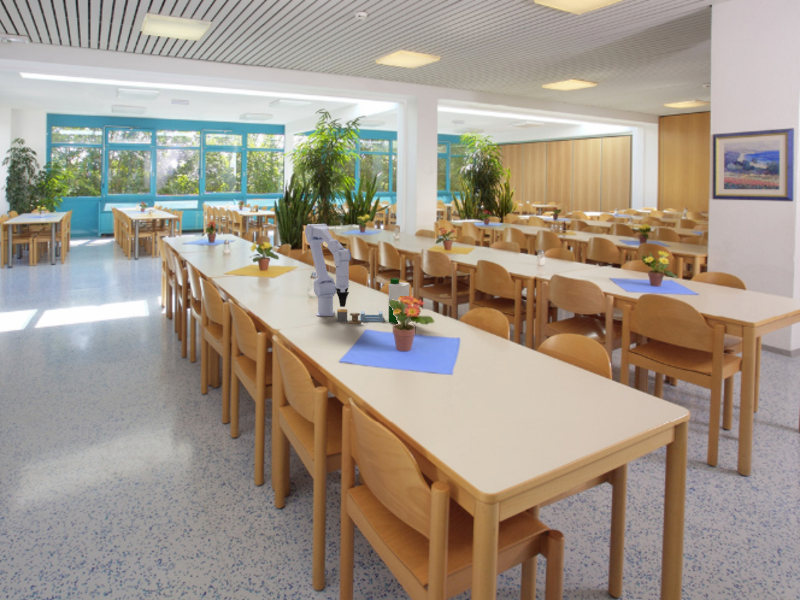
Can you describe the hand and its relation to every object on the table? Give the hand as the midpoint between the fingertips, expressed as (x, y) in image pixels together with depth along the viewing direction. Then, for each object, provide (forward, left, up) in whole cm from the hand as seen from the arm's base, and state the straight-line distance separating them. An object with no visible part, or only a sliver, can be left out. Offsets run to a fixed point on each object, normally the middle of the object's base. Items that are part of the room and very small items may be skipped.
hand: (342, 304), depth 260 cm
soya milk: (0, +26, -8) cm, 27 cm away
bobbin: (+3, +6, -7) cm, 10 cm away
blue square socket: (-3, +13, -7) cm, 16 cm away
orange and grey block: (0, 0, -8) cm, 8 cm away
